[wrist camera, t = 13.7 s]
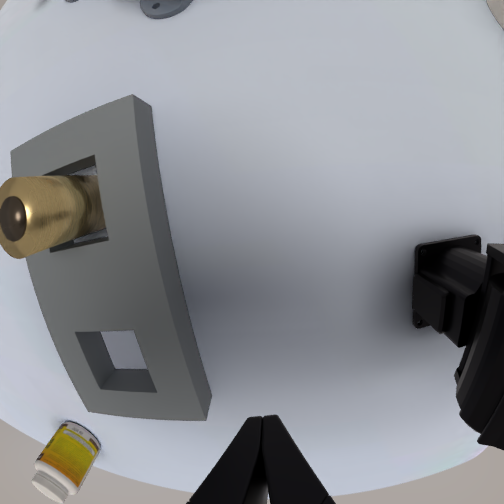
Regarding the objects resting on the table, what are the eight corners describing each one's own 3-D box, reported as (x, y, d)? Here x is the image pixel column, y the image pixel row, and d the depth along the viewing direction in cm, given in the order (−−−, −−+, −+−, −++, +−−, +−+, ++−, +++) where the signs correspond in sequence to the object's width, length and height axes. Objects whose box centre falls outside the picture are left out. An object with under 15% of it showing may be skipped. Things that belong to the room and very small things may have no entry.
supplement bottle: (62, 412, 23) (21, 469, 14) (103, 437, 24) (68, 501, 14) (63, 434, 25) (28, 485, 15) (100, 456, 25) (71, 512, 15)
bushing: (111, 168, 17) (29, 166, 9) (120, 225, 18) (43, 253, 10) (68, 183, 18) (-13, 190, 10) (77, 235, 19) (0, 264, 11)
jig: (151, 106, 16) (132, 94, 13) (211, 395, 21) (206, 420, 18) (35, 152, 17) (10, 151, 14) (101, 392, 22) (88, 411, 19)
